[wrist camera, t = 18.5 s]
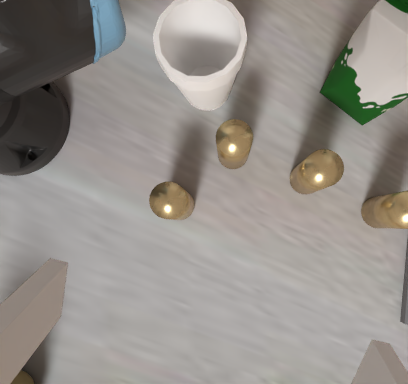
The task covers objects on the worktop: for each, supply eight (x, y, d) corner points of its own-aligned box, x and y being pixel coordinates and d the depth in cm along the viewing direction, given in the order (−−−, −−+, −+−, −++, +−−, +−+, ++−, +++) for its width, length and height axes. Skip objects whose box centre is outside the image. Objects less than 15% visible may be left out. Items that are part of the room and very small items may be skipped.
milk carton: (351, 45, 46) (444, -90, 26) (406, 86, 45) (546, -22, 25) (309, 93, 46) (371, -6, 26) (363, 136, 45) (471, 66, 25)
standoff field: (175, 132, 47) (162, 110, 38) (398, 159, 44) (441, 142, 35) (162, 217, 46) (146, 216, 37) (390, 249, 43) (432, 256, 34)
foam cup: (254, 75, 47) (264, 18, 34) (220, 133, 46) (217, 98, 33) (194, 44, 48) (182, -22, 35) (161, 101, 47) (136, 54, 35)
